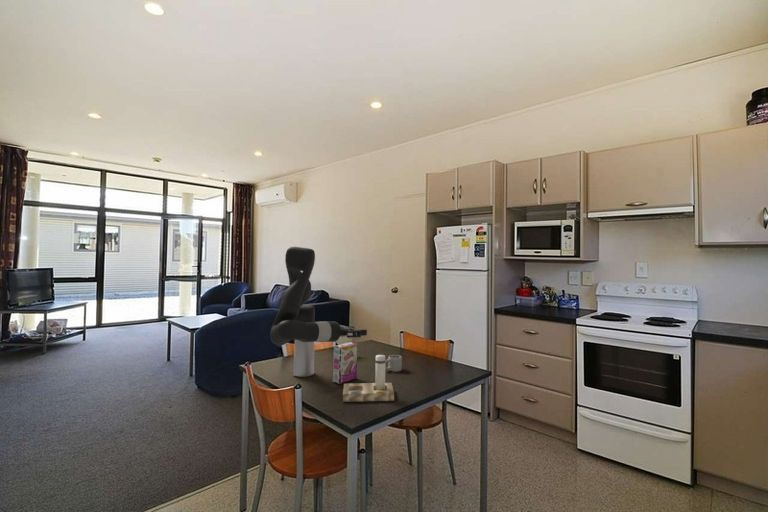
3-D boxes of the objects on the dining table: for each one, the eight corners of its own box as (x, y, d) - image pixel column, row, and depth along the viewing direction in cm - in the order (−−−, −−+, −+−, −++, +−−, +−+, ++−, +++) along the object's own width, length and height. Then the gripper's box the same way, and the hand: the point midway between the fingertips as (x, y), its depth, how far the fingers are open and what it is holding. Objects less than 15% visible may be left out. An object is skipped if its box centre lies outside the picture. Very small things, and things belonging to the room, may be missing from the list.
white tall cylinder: (375, 397, 146) (375, 357, 146) (374, 393, 150) (375, 354, 151) (385, 397, 147) (385, 357, 147) (384, 393, 151) (385, 354, 151)
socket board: (342, 401, 142) (342, 393, 142) (344, 390, 154) (344, 382, 154) (394, 400, 143) (394, 392, 143) (391, 389, 155) (391, 381, 155)
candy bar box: (340, 384, 161) (340, 347, 161) (332, 382, 164) (332, 345, 164) (357, 378, 169) (357, 343, 169) (349, 376, 172) (350, 341, 173)
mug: (396, 366, 188) (396, 354, 188) (404, 370, 182) (404, 356, 182) (380, 370, 182) (380, 357, 182) (388, 373, 176) (388, 360, 177)
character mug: (350, 353, 214) (350, 331, 214) (353, 356, 208) (353, 333, 208) (332, 354, 211) (332, 332, 211) (334, 357, 204) (334, 334, 204)
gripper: (336, 324, 130) (371, 323, 140) (316, 319, 141) (350, 319, 151) (334, 345, 129) (370, 343, 140) (314, 338, 140) (348, 337, 151)
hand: (359, 330), depth 146 cm, fingers open, 8 cm apart
